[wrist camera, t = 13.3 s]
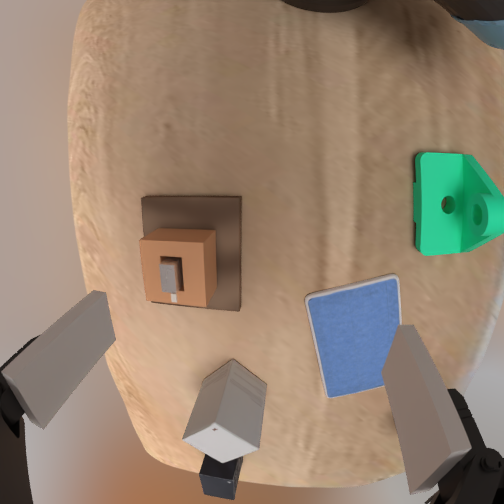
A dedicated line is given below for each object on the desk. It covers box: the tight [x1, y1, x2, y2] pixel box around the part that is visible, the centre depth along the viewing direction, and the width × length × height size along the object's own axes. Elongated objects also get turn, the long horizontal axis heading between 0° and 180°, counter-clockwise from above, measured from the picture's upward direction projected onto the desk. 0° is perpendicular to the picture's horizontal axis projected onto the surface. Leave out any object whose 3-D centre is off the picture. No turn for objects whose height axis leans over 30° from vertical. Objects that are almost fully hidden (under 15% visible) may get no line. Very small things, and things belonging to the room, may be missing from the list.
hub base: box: [141, 196, 242, 311], centre depth 32 cm, size 14×12×8 cm
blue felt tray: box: [305, 274, 402, 398], centre depth 38 cm, size 19×13×1 cm, turn 16°
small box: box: [199, 454, 243, 500], centre depth 44 cm, size 11×6×10 cm, turn 178°
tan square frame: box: [139, 228, 217, 307], centre depth 32 cm, size 7×7×5 cm
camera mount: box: [413, 152, 504, 256], centre depth 26 cm, size 12×8×10 cm, turn 7°
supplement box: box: [182, 359, 267, 463], centre depth 37 cm, size 7×7×13 cm
